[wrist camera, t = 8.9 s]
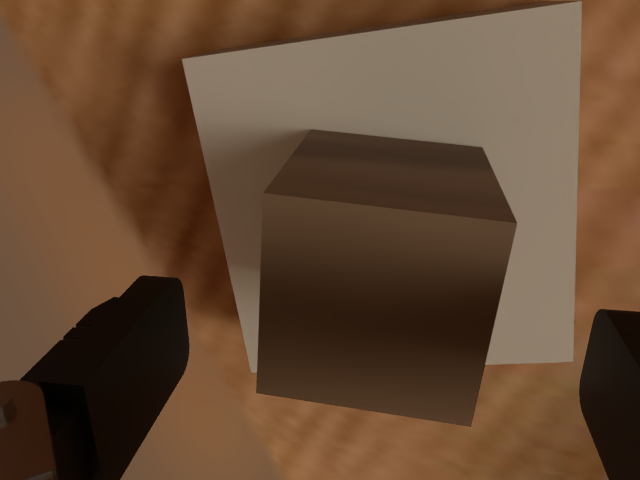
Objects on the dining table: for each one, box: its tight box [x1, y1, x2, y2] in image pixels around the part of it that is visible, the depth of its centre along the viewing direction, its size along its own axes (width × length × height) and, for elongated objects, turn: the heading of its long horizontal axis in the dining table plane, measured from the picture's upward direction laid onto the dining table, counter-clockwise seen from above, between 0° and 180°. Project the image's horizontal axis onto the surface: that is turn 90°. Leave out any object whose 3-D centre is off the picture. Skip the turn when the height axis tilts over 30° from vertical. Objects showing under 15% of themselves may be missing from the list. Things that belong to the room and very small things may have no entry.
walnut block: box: [256, 129, 517, 427], centre depth 15 cm, size 5×5×6 cm
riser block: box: [182, 1, 582, 373], centre depth 20 cm, size 11×11×4 cm
